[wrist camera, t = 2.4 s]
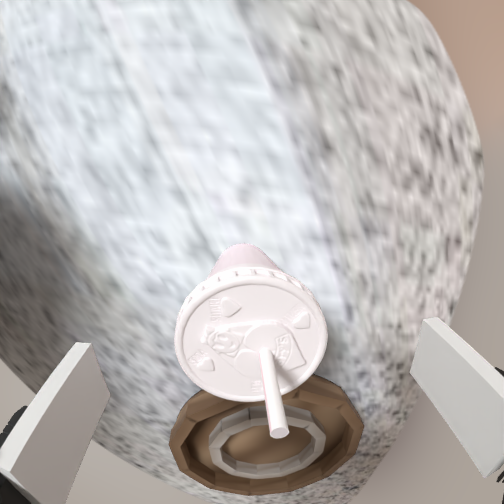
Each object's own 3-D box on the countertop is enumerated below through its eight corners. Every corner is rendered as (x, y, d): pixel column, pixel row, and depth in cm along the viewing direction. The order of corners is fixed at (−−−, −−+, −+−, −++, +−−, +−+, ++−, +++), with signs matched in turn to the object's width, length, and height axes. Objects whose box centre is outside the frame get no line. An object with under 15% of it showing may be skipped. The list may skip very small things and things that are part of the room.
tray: (155, 453, 26) (151, 472, 24) (219, 340, 22) (218, 361, 20) (293, 484, 30) (296, 500, 27) (385, 394, 26) (396, 412, 23)
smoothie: (268, 320, 22) (306, 485, 9) (185, 294, 21) (137, 457, 8) (302, 242, 21) (407, 365, 7) (214, 210, 20) (177, 305, 6)
